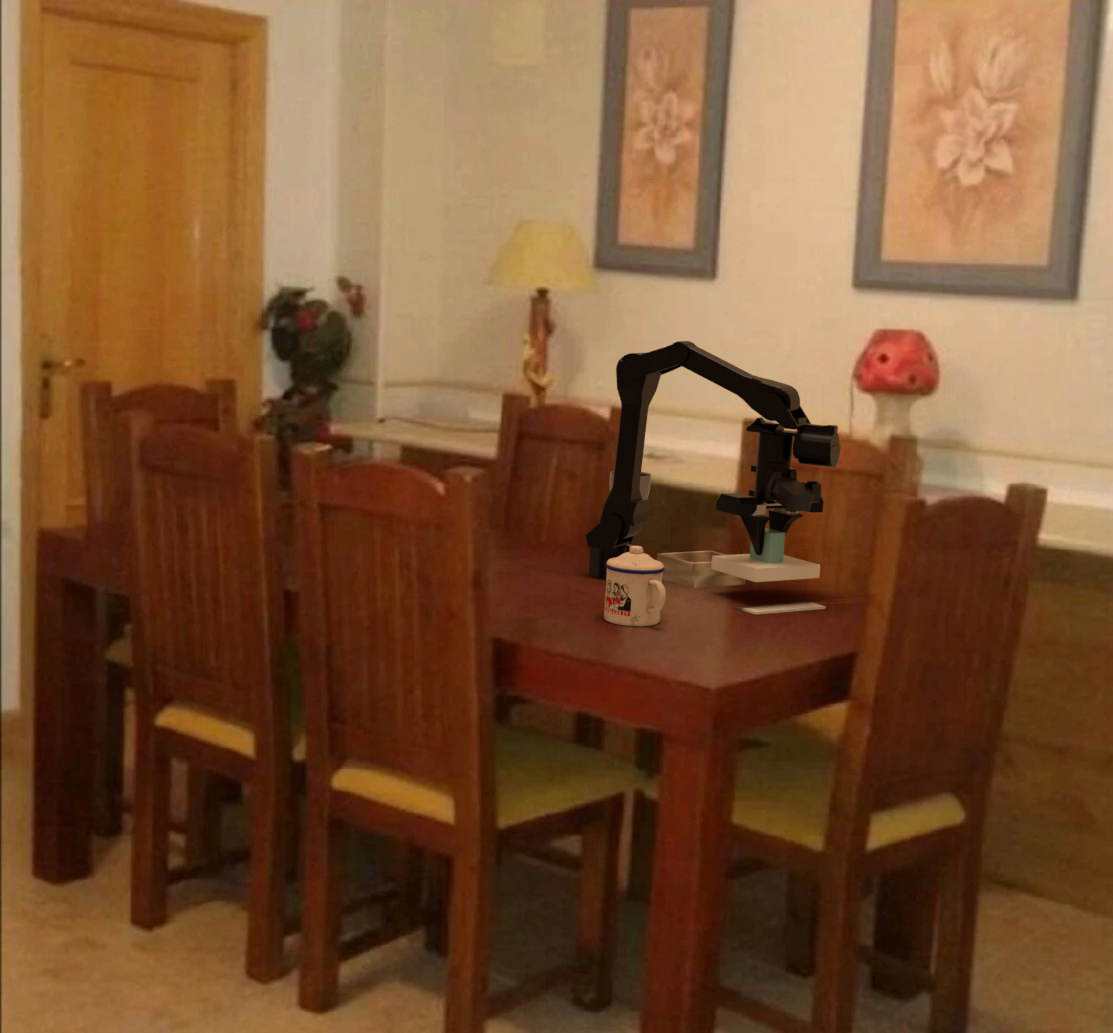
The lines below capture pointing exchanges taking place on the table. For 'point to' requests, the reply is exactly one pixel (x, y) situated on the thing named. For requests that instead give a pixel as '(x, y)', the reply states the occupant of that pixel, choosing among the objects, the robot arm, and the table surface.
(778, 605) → the mat
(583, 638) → the table surface
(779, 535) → the lid
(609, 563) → the teacup with lid
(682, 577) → the box
